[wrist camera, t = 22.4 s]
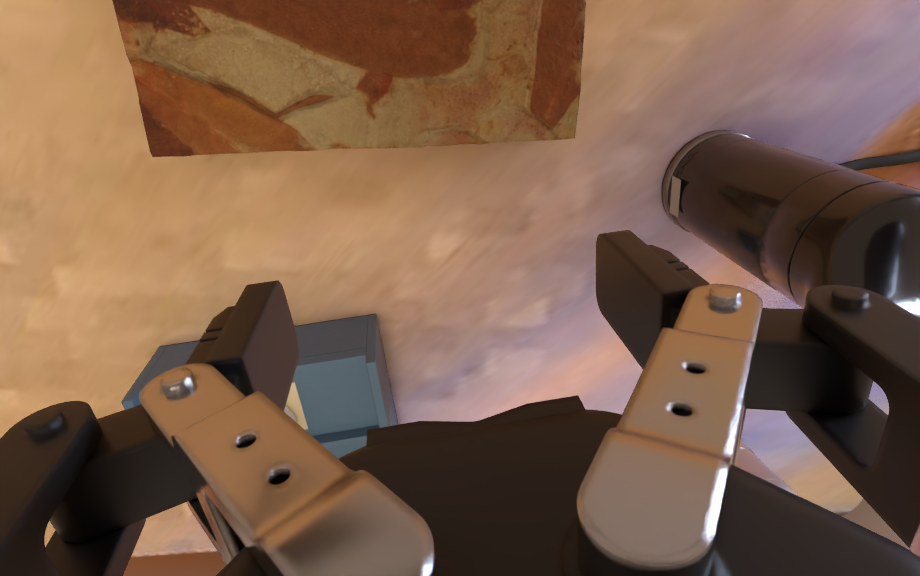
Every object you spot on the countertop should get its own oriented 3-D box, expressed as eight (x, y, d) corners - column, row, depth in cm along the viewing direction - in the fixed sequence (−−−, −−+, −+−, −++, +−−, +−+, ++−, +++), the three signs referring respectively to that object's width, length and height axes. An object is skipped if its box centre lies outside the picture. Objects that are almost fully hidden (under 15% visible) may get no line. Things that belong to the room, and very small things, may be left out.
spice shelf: (376, 313, 51) (375, 361, 44) (401, 442, 58) (404, 502, 51) (159, 346, 50) (120, 401, 42) (212, 474, 57) (187, 540, 50)
